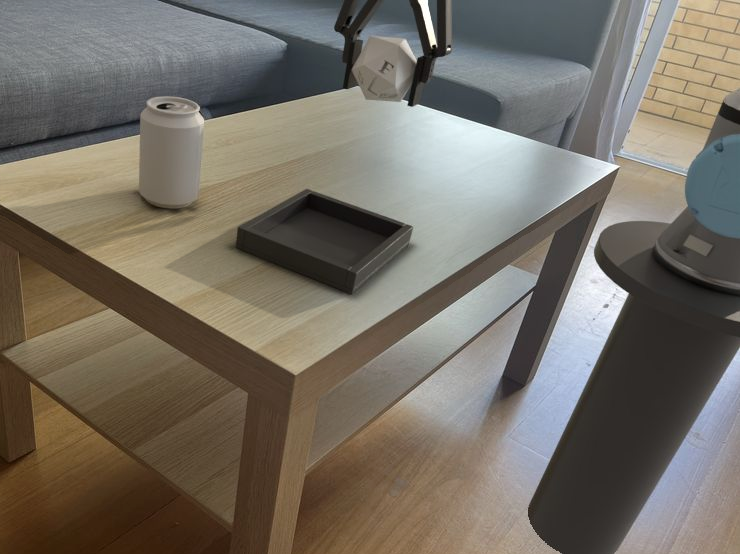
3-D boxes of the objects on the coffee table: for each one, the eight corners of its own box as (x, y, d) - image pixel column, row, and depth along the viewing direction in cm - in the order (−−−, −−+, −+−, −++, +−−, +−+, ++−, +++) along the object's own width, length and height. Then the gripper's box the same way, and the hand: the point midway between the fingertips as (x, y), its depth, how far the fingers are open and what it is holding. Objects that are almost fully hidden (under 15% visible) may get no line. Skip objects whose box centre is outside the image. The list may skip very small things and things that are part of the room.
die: (335, 95, 106) (356, 48, 97) (364, 57, 109) (387, 7, 100) (384, 127, 106) (410, 83, 97) (411, 88, 109) (438, 41, 100)
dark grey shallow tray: (408, 245, 89) (413, 226, 87) (351, 294, 77) (356, 273, 76) (303, 207, 94) (306, 188, 93) (235, 247, 82) (237, 226, 81)
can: (160, 181, 95) (163, 89, 88) (209, 197, 93) (217, 103, 86) (126, 199, 89) (127, 101, 82) (178, 217, 87) (183, 117, 80)
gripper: (325, -95, 94) (301, 81, 106) (489, -68, 86) (443, 120, 98) (350, -94, 99) (325, 74, 112) (507, -69, 91) (461, 110, 104)
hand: (380, 95), depth 105 cm, fingers closed on die, 10 cm apart
